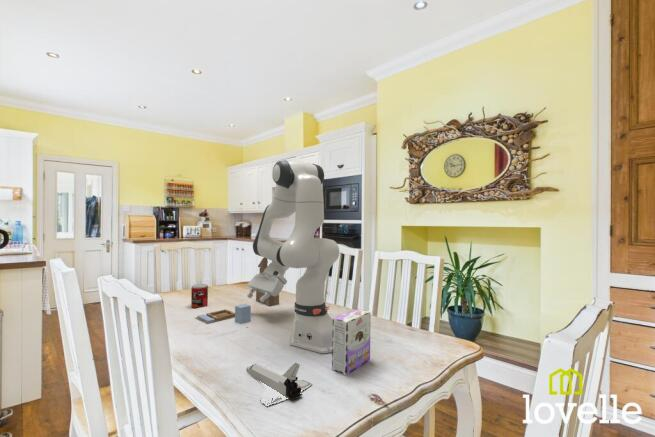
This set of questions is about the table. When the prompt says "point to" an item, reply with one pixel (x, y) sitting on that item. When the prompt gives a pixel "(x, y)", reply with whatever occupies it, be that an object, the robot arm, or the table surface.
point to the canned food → (199, 295)
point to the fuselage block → (242, 313)
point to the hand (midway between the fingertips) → (254, 299)
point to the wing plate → (206, 318)
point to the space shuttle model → (280, 381)
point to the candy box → (350, 341)
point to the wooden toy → (269, 301)
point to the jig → (219, 316)
